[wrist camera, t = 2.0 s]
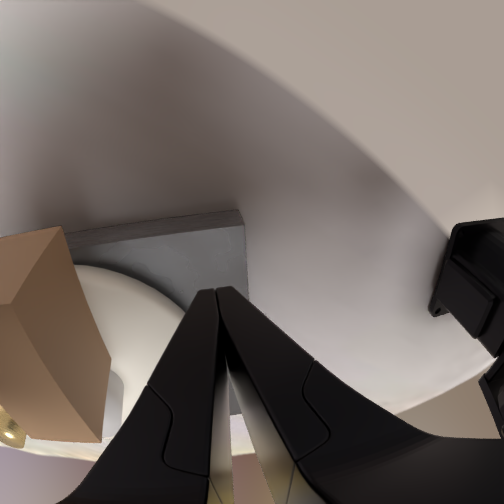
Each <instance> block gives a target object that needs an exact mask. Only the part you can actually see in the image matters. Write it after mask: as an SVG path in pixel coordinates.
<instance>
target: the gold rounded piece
mask: <svg viewBox="0 0 504 504" xmlns="http://www.w3.org/2000/svg"><path fill="white" fill-rule="evenodd" d="M25 439H26V433H25V432H24V430H23V429H22V428H21V427H20V426H19V425H18V424H17V423H16V422H15V421H14V420H13V419H12V418H11V416H10V415H9V414H8V413H7V412H6V411H5V410H4V408H3V407H2V406H1V405H0V441H1V442H3V443H4V444H6V445H8V446H11V447H14V448H23V447H24V444H25Z"/></svg>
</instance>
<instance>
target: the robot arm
mask: <svg viewBox="0 0 504 504" xmlns="http://www.w3.org/2000/svg"><path fill="white" fill-rule="evenodd" d="M449 312H450V313H451V314H452V315H453V316H454V317H455V319H456V320H457V321H458V322H459V323H460V324H461V325H462V326H463V327H464V329H465V330H466V331H467V332H468V333H469V334H470V335H471V337H472V338H474V339H478V340H479V341H480V342H481V344H482V345H483V346H484V347H485V348H486V349H487V351H488V352H489V353H490V354H491V355H492V357H493V358H496V357H498V356H499V357H498V358H497V359H496V361H495V362H494V363H493V365H492V366H491V367H490V369H489V370H488V371H487V373H485V374H483V376H482V377H481V378H480V379H479V381H478V382H479V385H480V387H481V390H482V391H483V394H484V397H485V399H486V401H487V404H488V406H489V408H490V411H491V414H492V416H493V418H494V421H495V424H496V426H497V429H498V432H499V435H500V437H501V439H475V438H454V437H441V436H437V435H433V434H429V433H427V432H424V431H422V430H419V429H417V428H415V427H413V426H412V425H410V424H407V423H406V422H405V421H403V420H401V419H400V418H398V417H396V416H395V415H393V414H392V413H390V412H388V411H387V410H385V409H383V408H382V407H380V406H379V405H377V404H375V403H374V402H372V401H371V400H369V399H367V398H366V397H364V396H363V395H361V394H360V393H358V392H357V391H355V390H354V389H353V388H351V387H350V386H348V385H347V384H345V383H344V382H343V381H341V380H340V379H339V378H338V377H336V376H335V375H334V374H332V373H331V372H330V371H329V370H327V369H326V368H325V367H324V366H323V365H322V364H320V363H319V362H318V361H317V360H315V361H314V358H313V357H312V356H311V355H310V354H309V353H307V352H306V351H305V350H304V349H303V348H302V347H301V346H299V345H298V344H297V343H296V342H295V341H294V340H293V339H291V338H290V337H289V336H288V335H287V334H286V333H285V332H283V331H282V330H281V329H280V328H279V327H278V326H277V325H275V324H274V323H273V322H272V321H271V320H270V319H269V318H268V317H266V316H265V315H264V314H263V313H262V312H261V311H260V310H259V309H257V308H256V307H255V306H254V305H253V304H252V303H251V302H250V301H249V300H247V299H246V298H245V297H244V296H243V295H242V294H241V293H240V292H239V291H238V290H236V289H235V288H234V287H233V286H224V287H217V288H216V291H215V289H214V288H209V289H201V290H198V291H197V293H196V295H195V297H194V298H193V300H192V302H191V304H190V306H189V307H188V309H187V311H186V313H185V314H184V316H183V318H182V320H181V322H180V323H179V325H178V327H177V329H176V331H175V332H174V334H173V336H172V338H171V340H170V341H169V343H168V345H167V347H166V349H165V350H164V352H163V354H162V356H161V358H160V360H159V361H158V363H157V365H156V367H155V369H154V371H153V372H152V374H151V376H150V378H149V380H148V382H147V385H146V386H145V387H144V389H143V391H142V392H141V394H140V396H139V398H138V400H137V402H136V403H135V405H134V407H133V408H132V410H131V412H130V414H129V415H128V417H127V418H126V420H125V421H124V423H123V424H122V426H121V427H120V429H119V430H118V432H117V433H116V435H115V436H114V438H113V439H112V440H111V442H110V443H109V445H108V446H107V447H106V449H105V450H104V452H103V453H102V454H101V456H100V457H99V459H98V460H97V462H96V463H95V465H94V466H93V467H92V469H91V470H90V471H89V473H88V474H87V476H86V477H85V478H84V480H83V481H82V482H81V484H80V485H79V486H78V487H77V488H76V489H75V490H74V491H73V492H72V493H71V494H70V495H68V496H67V497H66V498H65V499H63V500H62V501H60V502H58V503H56V504H234V493H233V474H232V455H231V434H230V411H229V385H228V372H229V376H230V379H231V383H232V386H233V389H234V392H235V395H236V398H237V401H238V404H239V406H240V409H241V412H242V415H243V418H244V421H245V424H246V427H247V430H248V432H249V435H250V438H251V441H252V444H253V446H254V449H255V452H256V455H257V457H258V460H259V463H260V465H261V468H262V471H263V473H264V476H265V479H266V481H267V484H268V487H269V489H270V492H271V494H272V497H273V499H274V502H275V504H504V218H496V219H488V220H480V221H472V222H463V223H458V224H456V225H455V226H454V227H453V229H452V232H451V236H450V240H449V244H448V248H447V252H446V256H445V259H444V263H443V267H442V270H441V273H440V277H439V280H438V283H437V287H436V290H435V293H434V296H433V299H432V302H431V305H430V308H429V313H430V314H431V315H432V316H433V317H437V316H440V315H443V314H446V313H449ZM225 356H226V357H225ZM226 362H227V363H226ZM227 367H228V371H227Z"/></svg>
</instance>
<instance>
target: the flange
mask: <svg viewBox="0 0 504 504" xmlns="http://www.w3.org/2000/svg"><path fill="white" fill-rule="evenodd" d="M184 314H185V312H184V311H183V310H182V309H181V308H180V307H179V306H178V305H176V304H175V303H174V302H173V301H172V300H170V299H169V298H168V297H166V296H165V295H163V294H162V293H160V292H159V291H157V290H156V289H154V288H152V287H150V286H148V285H146V284H144V283H143V282H141V281H139V280H136V279H134V278H131V277H129V276H126V275H124V274H121V273H118V272H114V271H111V270H107V269H104V268H98V267H92V266H86V265H74V264H73V261H72V258H71V255H70V252H69V249H68V245H67V242H66V239H65V236H64V232H63V229H62V226H57V227H52V228H46V229H41V230H36V231H30V232H25V233H20V234H15V235H10V236H6V237H1V238H0V405H1V406H2V407H3V408H4V410H5V411H6V412H7V413H8V414H9V415H10V416H11V418H12V419H13V420H14V421H15V422H16V423H17V424H18V425H19V426H20V427H21V428H22V429H23V430H24V432H25V433H26V434H27V435H28V436H29V437H30V438H32V439H41V440H51V441H64V442H82V443H101V442H102V438H106V439H113V438H114V436H115V435H116V433H117V432H118V430H119V429H120V427H121V426H122V424H123V423H124V421H125V420H126V418H127V417H128V415H129V414H130V412H131V410H132V408H133V407H134V405H135V403H136V402H137V400H138V398H139V396H140V394H141V392H142V391H143V389H144V387H145V386H146V385H147V382H148V380H149V378H150V376H151V374H152V372H153V371H154V369H155V367H156V365H157V363H158V361H159V360H160V358H161V356H162V354H163V352H164V350H165V349H166V347H167V345H168V343H169V341H170V340H171V338H172V336H173V334H174V332H175V331H176V329H177V327H178V325H179V323H180V322H181V320H182V318H183V316H184Z"/></svg>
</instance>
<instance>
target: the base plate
mask: <svg viewBox="0 0 504 504" xmlns="http://www.w3.org/2000/svg"><path fill="white" fill-rule="evenodd" d="M64 236H65V239H66V242H67V245H68V249H69V252H70V255H71V258H72V261H73V264H74V265H86V266H92V267H98V268H104V269H107V270H111V271H114V272H118V273H121V274H124V275H126V276H129V277H131V278H134V279H136V280H139V281H141V282H143V283H144V284H146V285H148V286H150V287H152V288H154V289H156V290H157V291H159V292H160V293H162V294H163V295H165V296H166V297H168V298H169V299H170V300H172V301H173V302H174V303H175V304H176V305H178V306H179V307H180V308H181V309H182V310H183V311H184V312H185V313H186V311H187V309H188V307H189V306H190V304H191V302H192V300H193V298H194V297H195V295H196V293H197V291H198V290H201V289H209V288H214V289H215V291H216V288H217V287H224V286H233V287H234V288H235V289H236V290H238V291H239V292H240V293H241V294H242V295H243V296H244V297H245V298H246V299H247V300H249V297H248V279H247V261H246V243H245V225H244V223H243V220H242V218H241V215H240V213H239V210H231V211H222V212H214V213H206V214H197V215H189V216H182V217H174V218H167V219H159V220H152V221H145V222H138V223H131V224H124V225H117V226H111V227H104V228H98V229H92V230H85V231H79V232H73V233H67V234H64ZM225 357H226V356H225ZM226 363H227V362H226ZM227 371H228V367H227ZM228 385H229V411H230V415H236V414H242V412H241V409H240V406H239V404H238V401H237V398H236V395H235V392H234V389H233V386H232V383H231V379H230V376H229V372H228Z"/></svg>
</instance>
